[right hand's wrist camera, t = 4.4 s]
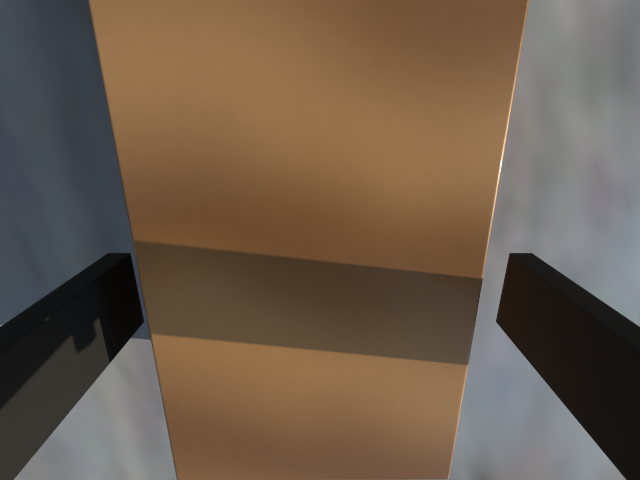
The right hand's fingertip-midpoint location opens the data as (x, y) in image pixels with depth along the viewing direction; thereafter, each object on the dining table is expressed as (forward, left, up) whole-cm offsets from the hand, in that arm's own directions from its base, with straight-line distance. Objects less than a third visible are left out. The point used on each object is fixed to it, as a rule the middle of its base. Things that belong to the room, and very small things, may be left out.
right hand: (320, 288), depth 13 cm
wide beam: (+15, +26, -5) cm, 30 cm away
